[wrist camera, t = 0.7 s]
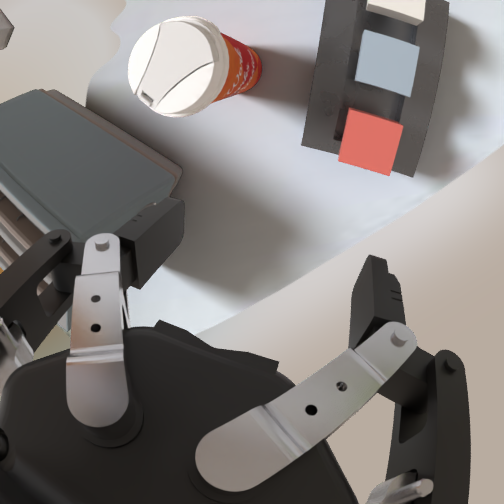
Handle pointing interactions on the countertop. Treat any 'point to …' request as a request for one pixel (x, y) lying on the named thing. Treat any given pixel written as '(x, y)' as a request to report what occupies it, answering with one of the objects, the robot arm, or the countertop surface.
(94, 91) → the countertop surface
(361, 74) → the slate-blue key
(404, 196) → the countertop surface
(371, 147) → the red key
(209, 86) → the coffee cup
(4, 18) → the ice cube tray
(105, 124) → the toaster
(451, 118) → the countertop surface
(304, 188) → the countertop surface
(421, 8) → the white key
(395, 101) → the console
